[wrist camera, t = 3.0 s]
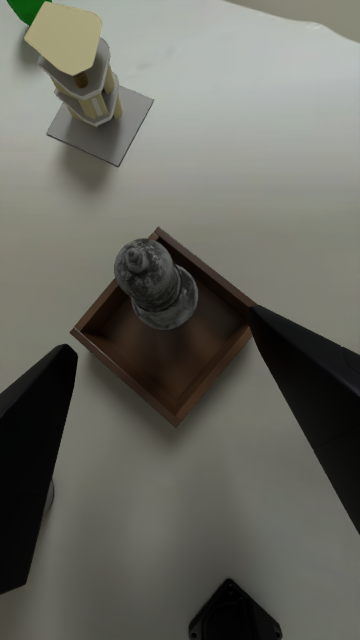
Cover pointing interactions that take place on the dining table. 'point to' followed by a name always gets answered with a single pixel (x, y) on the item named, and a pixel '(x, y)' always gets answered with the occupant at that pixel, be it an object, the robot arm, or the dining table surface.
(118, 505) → the dining table surface
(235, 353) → the wooden box
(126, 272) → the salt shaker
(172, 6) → the dining table surface
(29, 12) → the polyhedron
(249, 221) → the dining table surface
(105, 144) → the stacked layers on plate
